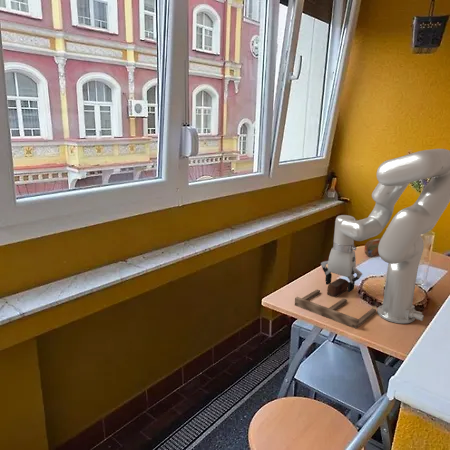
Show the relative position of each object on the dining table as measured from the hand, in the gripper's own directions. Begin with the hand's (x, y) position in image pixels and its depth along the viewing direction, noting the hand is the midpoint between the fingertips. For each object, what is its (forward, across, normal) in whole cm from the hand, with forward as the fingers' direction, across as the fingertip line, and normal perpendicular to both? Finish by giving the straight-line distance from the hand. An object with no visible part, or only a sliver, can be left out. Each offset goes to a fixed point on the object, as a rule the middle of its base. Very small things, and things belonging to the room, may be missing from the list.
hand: (339, 287), depth 162 cm
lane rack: (+2, -6, +14) cm, 15 cm away
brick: (+3, 0, 0) cm, 3 cm away
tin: (+3, +8, -54) cm, 55 cm away
